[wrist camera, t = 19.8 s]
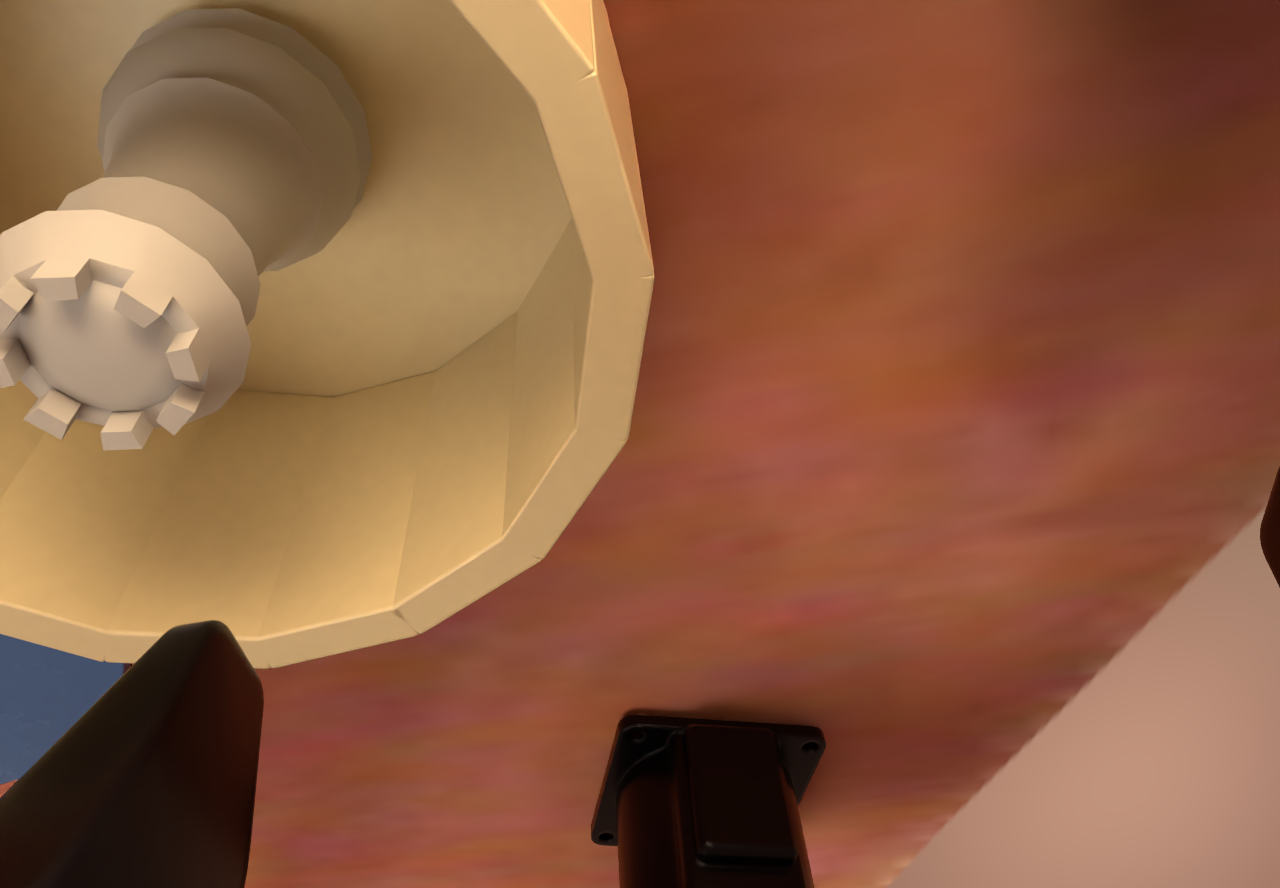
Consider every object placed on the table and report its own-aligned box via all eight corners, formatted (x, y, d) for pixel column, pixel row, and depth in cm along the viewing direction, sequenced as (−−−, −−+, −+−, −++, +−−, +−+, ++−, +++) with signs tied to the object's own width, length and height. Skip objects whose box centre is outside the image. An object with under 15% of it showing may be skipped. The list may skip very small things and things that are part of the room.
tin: (691, 324, 22) (737, 564, 16) (130, 467, 24) (-15, 735, 18) (473, -487, 14) (407, -597, 8) (-366, -188, 15) (-944, -95, 10)
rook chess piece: (372, 254, 20) (286, 523, 14) (135, 220, 19) (-70, 489, 13) (380, 24, 17) (276, 228, 11) (106, -25, 17) (-169, 164, 10)
